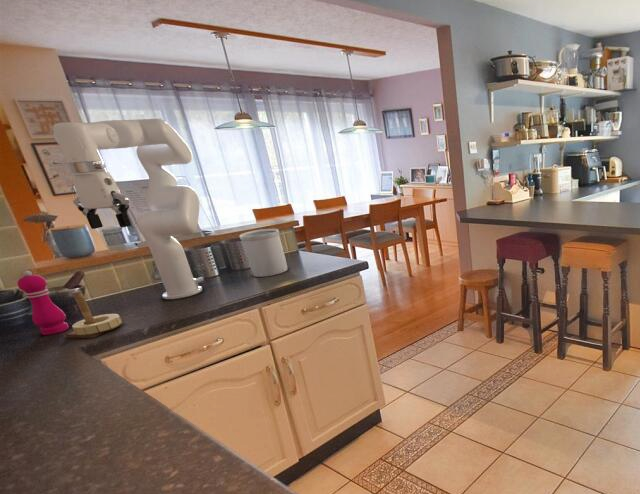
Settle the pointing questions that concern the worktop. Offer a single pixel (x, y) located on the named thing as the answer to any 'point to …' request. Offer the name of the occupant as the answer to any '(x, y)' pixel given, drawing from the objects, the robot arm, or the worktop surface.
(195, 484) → the worktop surface
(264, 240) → the utensil holder
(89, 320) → the wooden peg stand
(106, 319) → the tape
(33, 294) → the pepper mill
